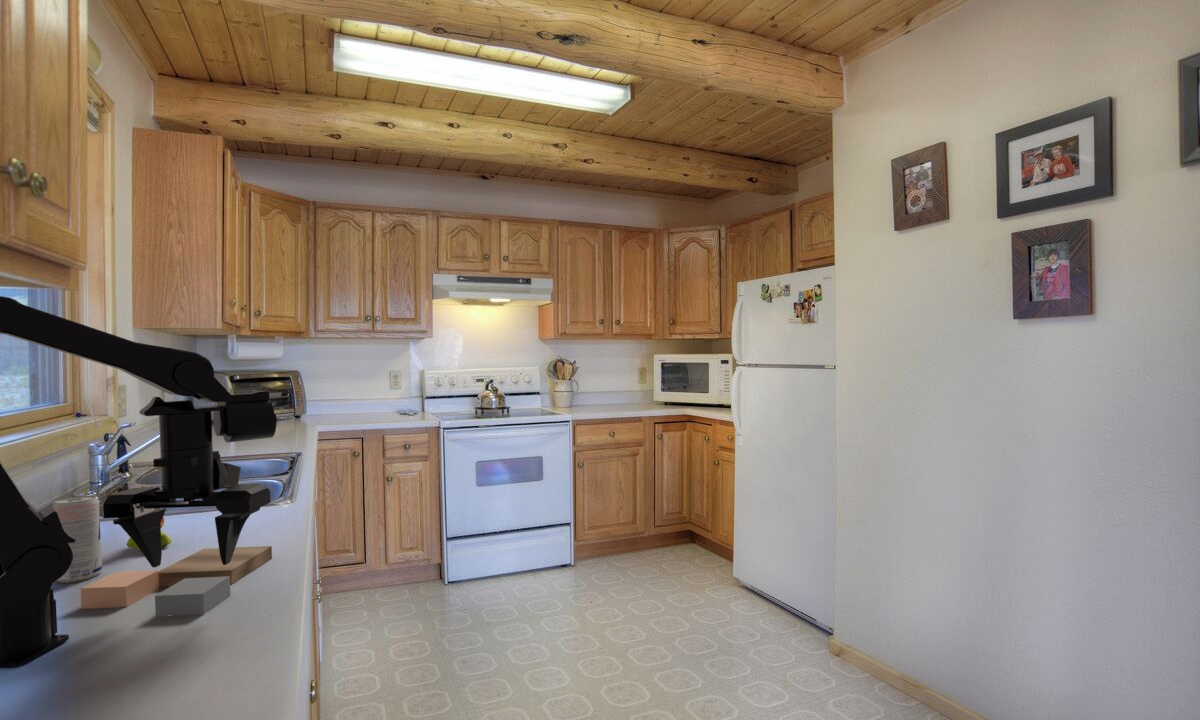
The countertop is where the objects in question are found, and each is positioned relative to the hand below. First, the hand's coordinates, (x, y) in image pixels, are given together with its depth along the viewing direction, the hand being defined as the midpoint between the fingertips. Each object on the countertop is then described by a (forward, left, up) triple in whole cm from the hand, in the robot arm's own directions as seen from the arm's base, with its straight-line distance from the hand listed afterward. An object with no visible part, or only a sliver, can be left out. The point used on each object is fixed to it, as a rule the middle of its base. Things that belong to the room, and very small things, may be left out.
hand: (191, 565), depth 81 cm
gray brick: (0, 0, -6) cm, 6 cm away
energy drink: (+13, +26, -6) cm, 30 cm away
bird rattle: (+28, +26, -6) cm, 39 cm away
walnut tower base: (+13, +5, -5) cm, 15 cm away
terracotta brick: (+4, +12, -6) cm, 14 cm away
